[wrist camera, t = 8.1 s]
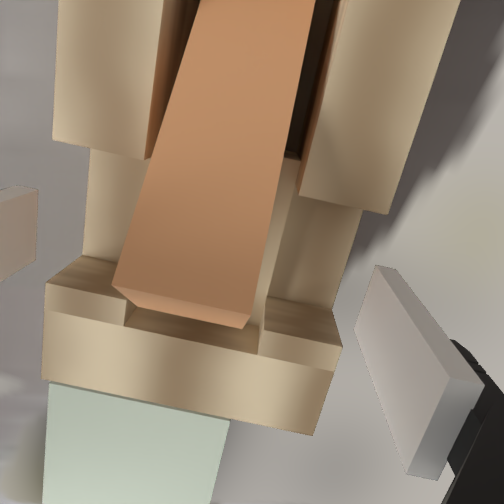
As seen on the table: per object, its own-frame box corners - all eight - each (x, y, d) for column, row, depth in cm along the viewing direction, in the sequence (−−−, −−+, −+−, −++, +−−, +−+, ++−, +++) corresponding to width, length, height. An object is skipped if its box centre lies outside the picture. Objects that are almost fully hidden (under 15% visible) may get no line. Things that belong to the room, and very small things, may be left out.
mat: (44, 524, 31) (40, 532, 31) (53, 377, 27) (48, 383, 26) (196, 555, 32) (195, 563, 31) (231, 414, 27) (230, 421, 26)
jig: (98, 313, 25) (41, 378, 19) (148, -199, 17) (76, -377, 11) (303, 357, 25) (312, 436, 19) (449, -125, 17) (547, -256, 11)
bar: (137, 306, 15) (111, 284, 11) (220, 19, 19) (222, -68, 15) (242, 329, 15) (250, 315, 11) (302, 38, 19) (324, -44, 15)
